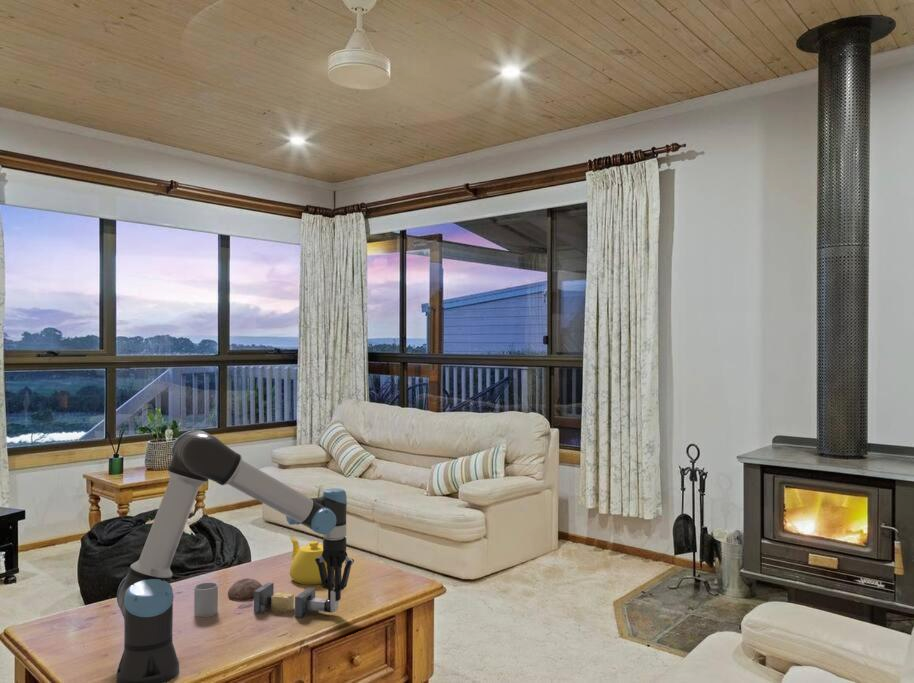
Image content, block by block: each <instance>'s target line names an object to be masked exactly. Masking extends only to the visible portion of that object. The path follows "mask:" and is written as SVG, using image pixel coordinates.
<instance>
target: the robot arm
mask: <svg viewBox="0 0 914 683" xmlns="http://www.w3.org/2000/svg"><path fill="white" fill-rule="evenodd" d="M171 456H172V458H171V460H170V463H169V464H168V468H167V474H168V475H169V481H168V483H167V485H166V489H165V491H164V494H163V496H162V499H161V501H160V504H159V506H158V509H157V512H156V514H155V517H154V520H153V522H152V525H151V527H150V531H149V532H148V536H147V538H146V541H145V543H144V546H143V548H142V551H141V553H140V556H139V559H138V560H137V561H135V562H133V563H132V564H130V566H129V569H128V572H127V574H126V576H125V577H124V578H123V579H122V581H121V582H120V584H119V586H118V588H117V593H116V602H117V606H118V608H119V610H120V612H121V614H122V618H123V621H124V624H123V625H124V628H123V629H124V630H123V631H124V633H123V634H124V638H123V639H124V640H123V641H124V646H123V652H122V656H121V658H120V660H119V664H118V668H117V669H116V683H167V682H169V681H171V680H172V679H174V678H175V677H177V675H178V674H179V672H180V660H179V658H178V656H177V653H176V649H175V646H174V643H173V624H174V623H173V622H174V621H173V618H174V617H173V614H174V613H173V609H174V608H173V607H174V605H173V604H174V603H173V602H174V597H175V596H174V593H173V587H172V585H171V580H172V578H173V575H174V574H173V572H172V570H171V565H172V562H173V559H174V556H175V555H176V552H177V549H178V546H179V543H180V541H181V538H182V535H183V533H184V530H185V528H186V525H187V522H188V519H189V516H190V514H191V511H192V508H193V506H194V503H195V501H196V497H197V495H198V492H199V490H200V487H201V486H203V485H204V484H206V483H208V481H212V482H215V483H217V484H218V485H221V486H226V485H228V486H231V487H232V488H233V489H236V490H238V491H240V492H242V493H244V494H245V495H247V496H249V497H251V498H253V499H255V500H256V501H258V502H260V503H262V504H263V505H266V506H268V507H270V508H271V509H273V510H274V511H277V512H279V513H280V514H282V515H284V516H285V519H286V521H287V523H288V524H289V525H297V526H299V525H302V526H304V527H306V528H309V529H310V530H312V531H313V532H314V533H316V534H320V535H322V537H323V539H322V545H323V553H322V556H319V557H318V558H316V559H315V561H316V563H317V565H318V568H319V573H320V577H321V582H322V584H321V586H322V588H323V589H326V590H327V599H328V600H331V601H330V603H331V612H332V613H335V612H336V611H338V610H339V601H340V600H341V596H342V595H341V594H342V593H341V592H342V591H343V590H344V589H345V588H346V587H347V586H348V581H349V576H350V573H351V568H352V566H353V564H354V562H355V560H354V558H350V557H349V556H348V553H347V537H346V536H347V509H348V508H347V506H348V501H347V499H348V498H347V491H346V490H345V489H343V488H337V487H336V488H335V487H334V488H333V487H332V488H327V489H324V490H323V493H322V496H320V497H308V496H306V495H304V494H303V493H301V492H299V491H297V490H295V489H294V488H292V487H290V486H289V485H287V484H285V483H283V482H281V481H280V480H278V479H276V478H275V477H272V476H271V475H269V474H268V473H266V472H263V471H262V470H260V469H259V468H257V467H255V466H253V465H251V464H249V463H248V462H246V461H245V460H244V459H243V457H242V455H241V454H239V453H238V452H236V451H234V450H233V449H231V448H230V447H229V446H227V444H225V443H224V442H222V440H220V439H219V438H218V437H216V436H214V435H213V434H210V433H208V432H206V431H203V430H199V429H197V430H195V429H194V430H189V431H186V432H184V433H183V434H181V435H179V436H178V437H177V439H175V442H174V444H173V446H172V455H171ZM324 560H325V562H326V563H327V570H328V577H327V572H326V567H325V563H324ZM343 564H345V566H344V568H343ZM342 568H343V572H342ZM334 570H335V576H334ZM342 573H343V574H342Z"/></svg>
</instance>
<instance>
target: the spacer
mask: <svg viewBox="0 0 914 683" xmlns="http://www.w3.org/2000/svg"><path fill="white" fill-rule="evenodd" d="M292 610H295V596H294V593H289V592H288V593H287V592H279V591H278V592H276V593H273V596H271V606H270V611H271V612H272V613H273V612H275V613H282V614H283V613H285V614H288V613H290V612H291V611H292Z"/></svg>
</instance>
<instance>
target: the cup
mask: <svg viewBox="0 0 914 683" xmlns="http://www.w3.org/2000/svg"><path fill="white" fill-rule="evenodd" d="M218 585H219V584H218V583H217V582H213V581H212V582H210V581H208V582H201V583H198V584H195V585H194V589H193V590H194V595H193V596H194V598H193V599H194V600H193V602H194V603H193V606H194V607H193V608H194V609H193V610H194V612H193V614H194V616H195V617H198V618H207V617H212V616H215V615H216V614H217V613H218V608H219V606H218V605H219V604H218V603H219V602H218V601H219V586H218Z"/></svg>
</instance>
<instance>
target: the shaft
mask: <svg viewBox="0 0 914 683" xmlns="http://www.w3.org/2000/svg"><path fill="white" fill-rule="evenodd" d="M330 601H331V600H328V598H321V597H315V598H311V597H307V598H306V610H312V611H311V612H313V611H314V612H322V613H323V612H324V613H332V614H333V612H331V603H330Z"/></svg>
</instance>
